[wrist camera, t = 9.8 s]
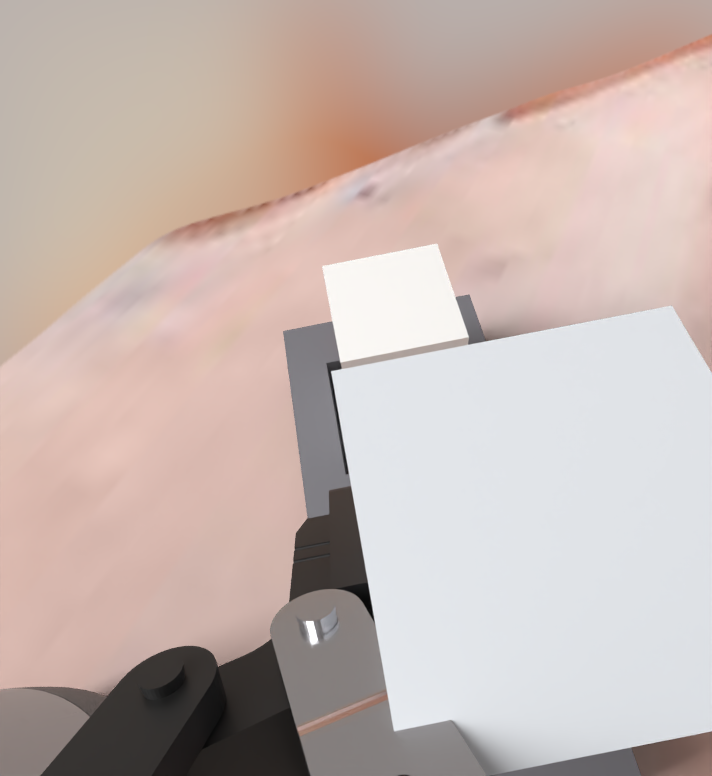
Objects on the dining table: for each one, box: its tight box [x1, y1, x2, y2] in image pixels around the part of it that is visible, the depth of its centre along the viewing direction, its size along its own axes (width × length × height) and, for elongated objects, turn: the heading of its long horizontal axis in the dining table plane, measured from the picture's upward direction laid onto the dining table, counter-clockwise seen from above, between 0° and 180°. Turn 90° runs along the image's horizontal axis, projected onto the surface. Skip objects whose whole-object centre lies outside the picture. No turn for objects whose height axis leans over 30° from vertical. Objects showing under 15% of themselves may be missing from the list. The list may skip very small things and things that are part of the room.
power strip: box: [283, 244, 641, 776], centre depth 20 cm, size 9×20×11 cm, turn 10°
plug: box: [331, 306, 712, 776], centre depth 10 cm, size 4×4×10 cm
